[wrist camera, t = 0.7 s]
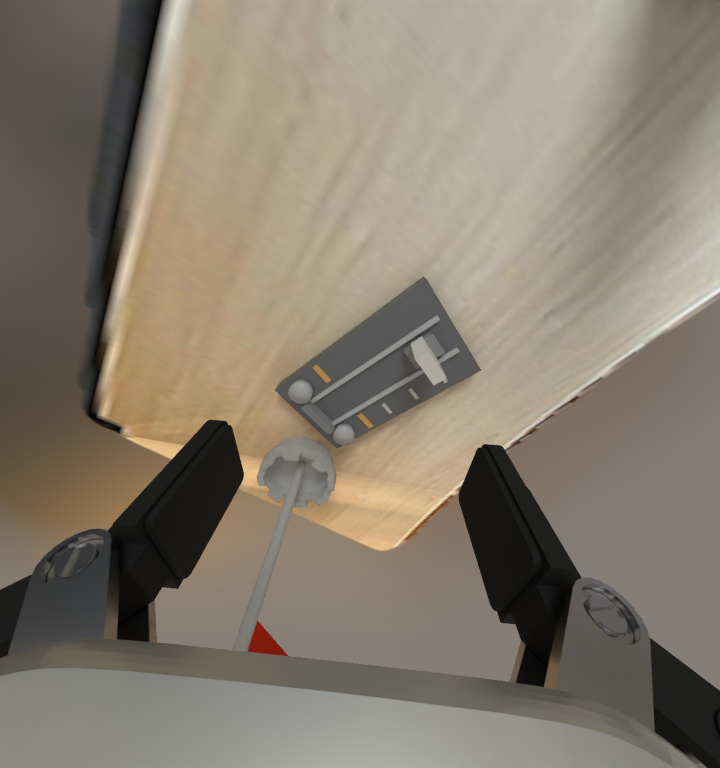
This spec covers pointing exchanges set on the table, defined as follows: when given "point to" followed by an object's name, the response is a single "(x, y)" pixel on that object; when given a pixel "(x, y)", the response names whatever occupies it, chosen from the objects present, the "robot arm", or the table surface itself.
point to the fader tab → (427, 356)
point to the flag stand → (284, 520)
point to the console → (377, 368)
